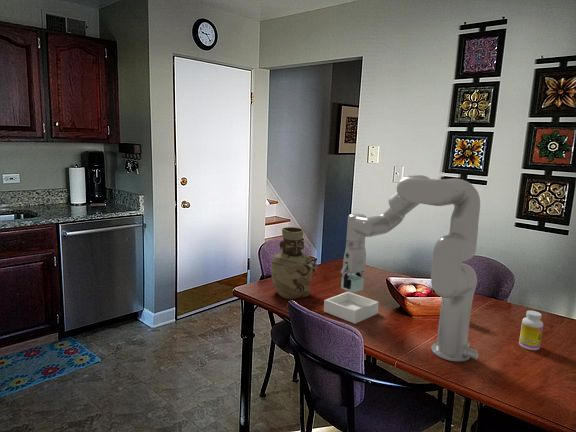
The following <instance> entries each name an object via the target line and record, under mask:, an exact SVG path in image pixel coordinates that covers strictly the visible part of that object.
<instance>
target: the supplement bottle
mask: <svg viewBox="0 0 576 432" xmlns="http://www.w3.org/2000/svg"><path fill="white" fill-rule="evenodd" d="M525 314H526V315H525V316H526V317H524V318H522V321H521V327H520V335H519V341H518V344H519V346H520V347H521V348H523V349H526V350H530V351H538V350H540V349H541V341H542V335H543V330H544V322H543V321H542V320H541V319H542V315H543V314H542V313H540V312H538V311H535V310H526V313H525Z"/></svg>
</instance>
